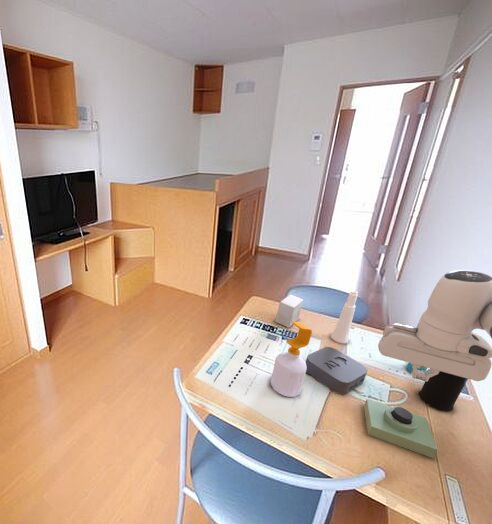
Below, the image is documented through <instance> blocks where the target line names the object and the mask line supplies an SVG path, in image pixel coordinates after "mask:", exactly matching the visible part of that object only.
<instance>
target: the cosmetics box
mask: <svg viewBox="0 0 492 524" xmlns="http://www.w3.org/2000/svg"><path fill="white" fill-rule="evenodd" d="M303 304H304V299H303V298H300V297H298V296H295V295H293V294H289V295H287V296H286V297H285V298H283V299H282V300H280V302H279V304H278V309H277V312H276V317H275V320H274V322H275V323H277V324H280V325H282V326H284V327H286V328H288V329H289V328H290V327H291V326H293V325H294V324H293V323H292V322H298V320H299V318H300V315H301V311H302V307H303Z"/></svg>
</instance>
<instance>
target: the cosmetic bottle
mask: <svg viewBox="0 0 492 524" xmlns="http://www.w3.org/2000/svg"><path fill="white" fill-rule="evenodd" d="M358 293H359V292H358V291H357V290H353V289H351V290H350V292H349V293H348V296H347V299H346V302H345V303H344V304H343V307H342V310H341V312H340V315H339V318H338V320H337V323H336V324H335V325H336V326H335V327H334V330H333V332H332V333H331V335H330V338H331V340H333V341H334V342H336V343H338V344H348V343H349V336H350V331H351V326H352V323H353V318H354V315H355V311H356V307H357V306H356V302H357V299H358V296H359V294H358Z"/></svg>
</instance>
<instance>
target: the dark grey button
mask: <svg viewBox="0 0 492 524" xmlns="http://www.w3.org/2000/svg"><path fill="white" fill-rule="evenodd" d="M394 407H395V408H394V410H393V413H392V416H393V417H394V419H396V420H397V421H399V422H400V423H403V424H410V422H411V420H412V418H413V416H412V414H411V413H412V412H411V411H409V410H407V408H404V407H401V406H394Z"/></svg>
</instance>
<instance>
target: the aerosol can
mask: <svg viewBox="0 0 492 524" xmlns="http://www.w3.org/2000/svg"><path fill="white" fill-rule="evenodd" d="M468 381H469V379H467V378H464V377H460V376H456V375H453V374H449V373H445V372H442V371H440V372H439V374H437V375H435V376H432V377H430V378H429V380H428V382H426V381H424V383H423V385H422V387H421V389H420V390H419V391H418V393H417V395H418V397H419V399H420V400H421V401H422V402H423V403H424V404H425V405H427V406H429V407H431V408H433V409H435V410H438V411H441V412H452V411H453V410H454V406H455V403H456V402H457V400H458V398H459V397H460V395H461V392H462V391H463V389H464V388H465V386H466V383H467V382H468Z"/></svg>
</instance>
